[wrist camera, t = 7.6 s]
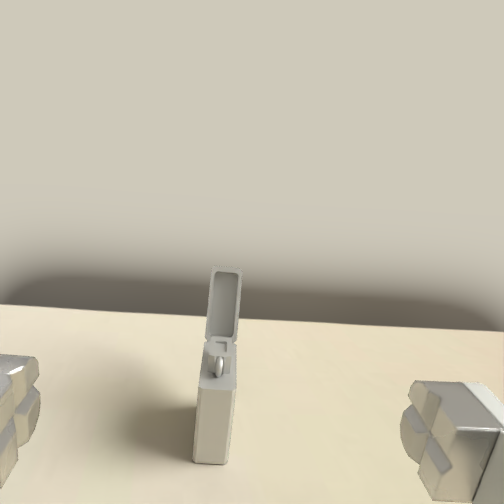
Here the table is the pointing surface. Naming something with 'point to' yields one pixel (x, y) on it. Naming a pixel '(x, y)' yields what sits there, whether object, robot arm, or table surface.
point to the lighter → (218, 369)
